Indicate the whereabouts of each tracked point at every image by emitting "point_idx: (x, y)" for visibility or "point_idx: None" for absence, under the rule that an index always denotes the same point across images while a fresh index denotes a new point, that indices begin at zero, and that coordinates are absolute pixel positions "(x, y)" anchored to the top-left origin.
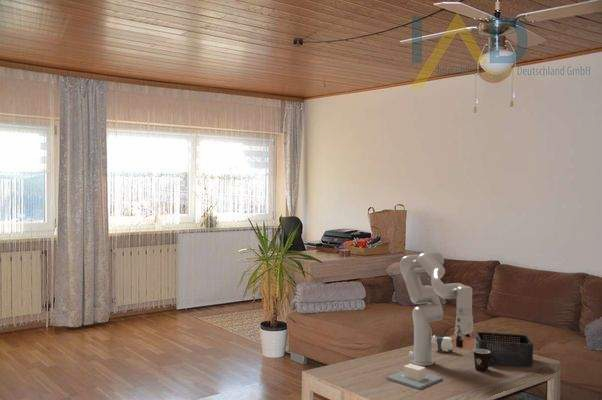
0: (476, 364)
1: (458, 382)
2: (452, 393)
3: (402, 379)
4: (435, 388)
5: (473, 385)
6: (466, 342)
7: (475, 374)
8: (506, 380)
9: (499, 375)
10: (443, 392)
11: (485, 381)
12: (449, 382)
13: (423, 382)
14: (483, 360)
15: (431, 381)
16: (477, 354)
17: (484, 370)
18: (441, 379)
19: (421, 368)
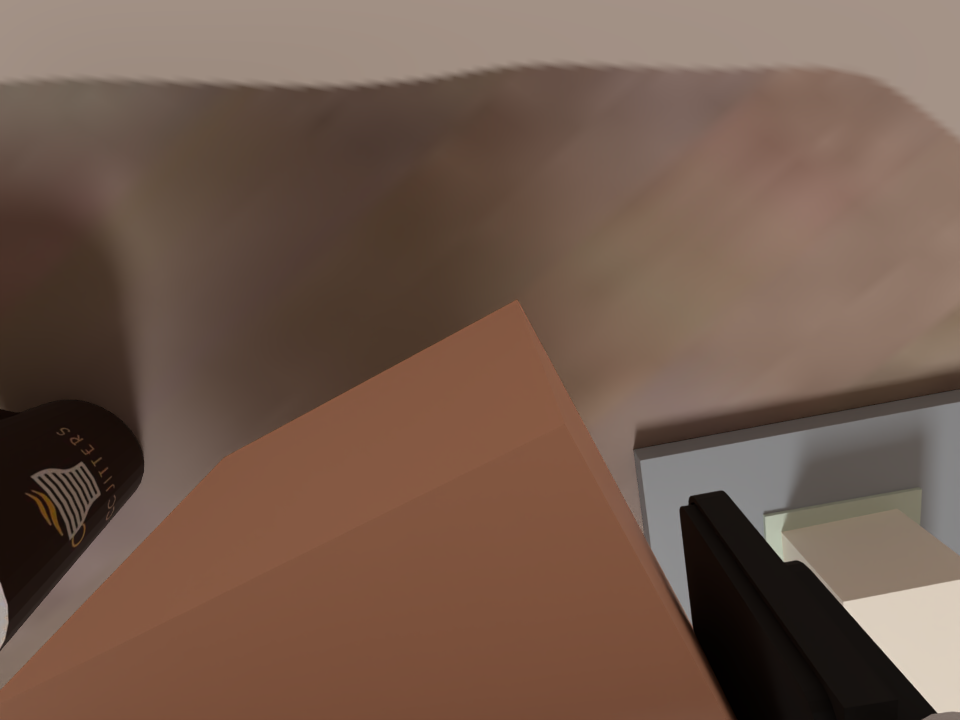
0: (109, 496)
1: (563, 324)
2: (885, 125)
3: None
4: (886, 322)
5: (502, 177)
6: (637, 543)
7: (234, 396)
8: (39, 85)
9: (8, 247)
10: (928, 199)
11: (290, 196)
12: (637, 369)
13: (905, 453)
14: (11, 459)
15: (824, 435)
16: (15, 557)
17: (82, 408)
18: (655, 449)
19: (907, 601)
